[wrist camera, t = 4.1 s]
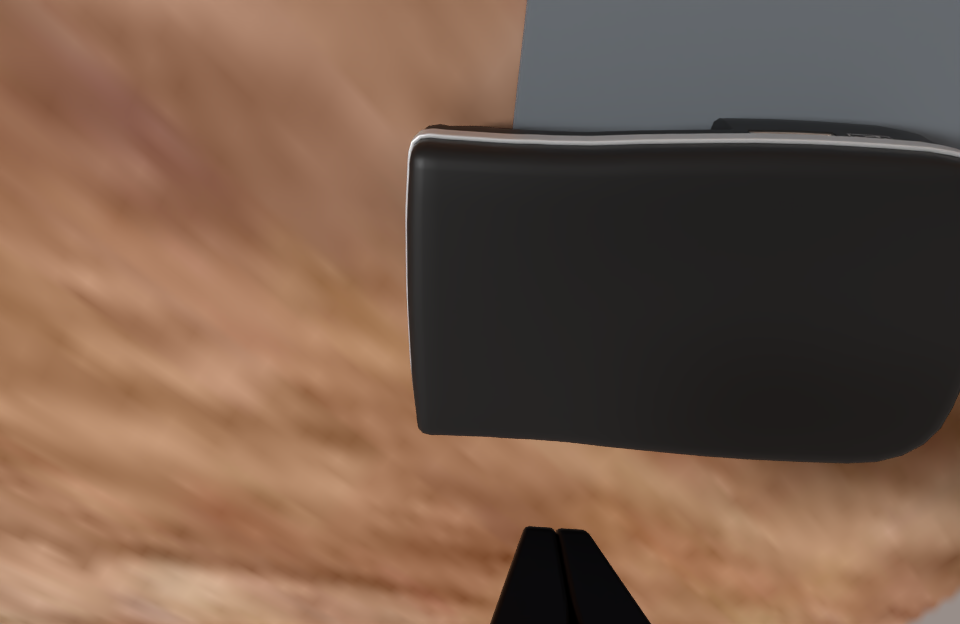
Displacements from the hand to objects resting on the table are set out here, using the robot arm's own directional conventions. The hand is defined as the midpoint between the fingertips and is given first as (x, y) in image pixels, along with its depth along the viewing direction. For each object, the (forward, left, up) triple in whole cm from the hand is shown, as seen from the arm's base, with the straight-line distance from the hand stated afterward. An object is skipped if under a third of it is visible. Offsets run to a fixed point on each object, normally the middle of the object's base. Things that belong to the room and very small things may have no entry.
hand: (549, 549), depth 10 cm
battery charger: (+3, 0, -8) cm, 8 cm away
